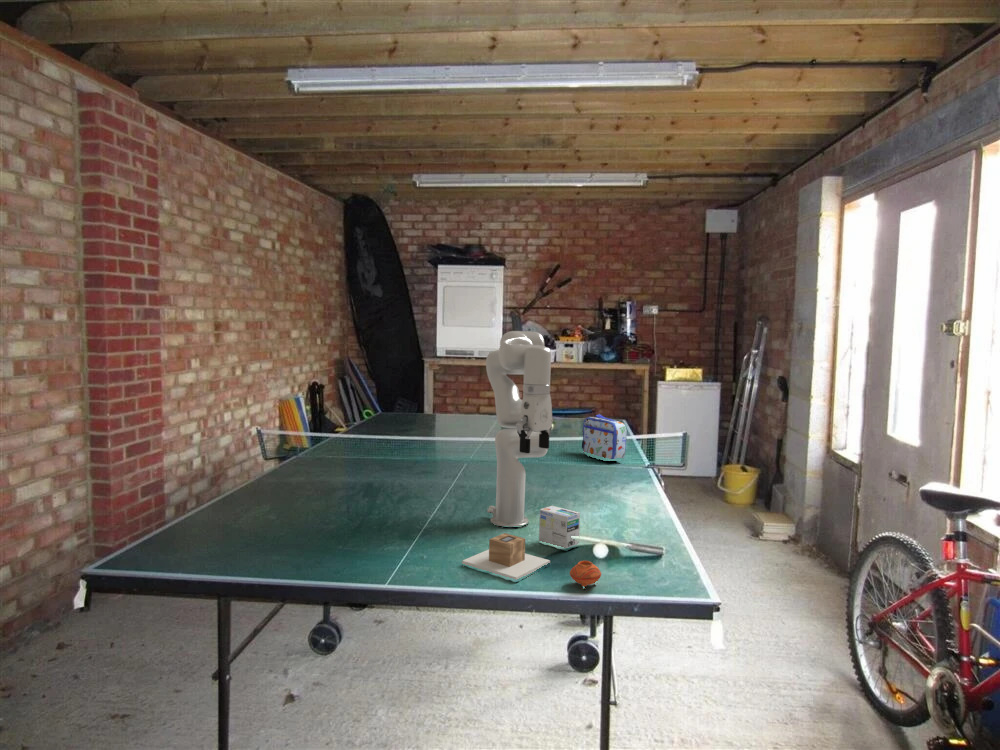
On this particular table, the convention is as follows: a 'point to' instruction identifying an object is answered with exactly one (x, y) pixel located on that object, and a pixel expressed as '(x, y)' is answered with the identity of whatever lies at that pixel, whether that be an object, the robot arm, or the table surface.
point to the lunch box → (604, 437)
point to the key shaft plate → (513, 572)
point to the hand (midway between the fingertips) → (534, 450)
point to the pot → (585, 573)
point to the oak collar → (506, 550)
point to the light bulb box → (559, 526)
